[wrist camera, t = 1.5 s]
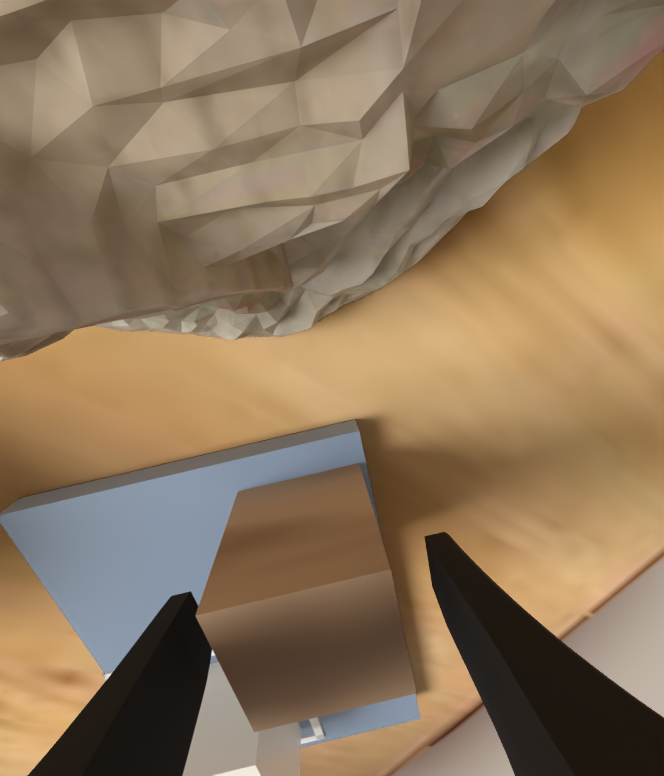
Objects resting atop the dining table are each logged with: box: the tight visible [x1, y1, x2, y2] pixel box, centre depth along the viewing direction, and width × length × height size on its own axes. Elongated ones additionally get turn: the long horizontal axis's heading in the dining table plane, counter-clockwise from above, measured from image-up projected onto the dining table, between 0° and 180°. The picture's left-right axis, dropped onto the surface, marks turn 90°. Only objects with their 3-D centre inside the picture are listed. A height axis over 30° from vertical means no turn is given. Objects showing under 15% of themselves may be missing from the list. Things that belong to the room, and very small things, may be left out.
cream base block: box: [183, 662, 301, 776], centre depth 13 cm, size 6×6×4 cm
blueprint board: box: [0, 420, 420, 747], centre depth 14 cm, size 17×13×1 cm
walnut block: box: [195, 463, 417, 732], centre depth 10 cm, size 4×4×4 cm
